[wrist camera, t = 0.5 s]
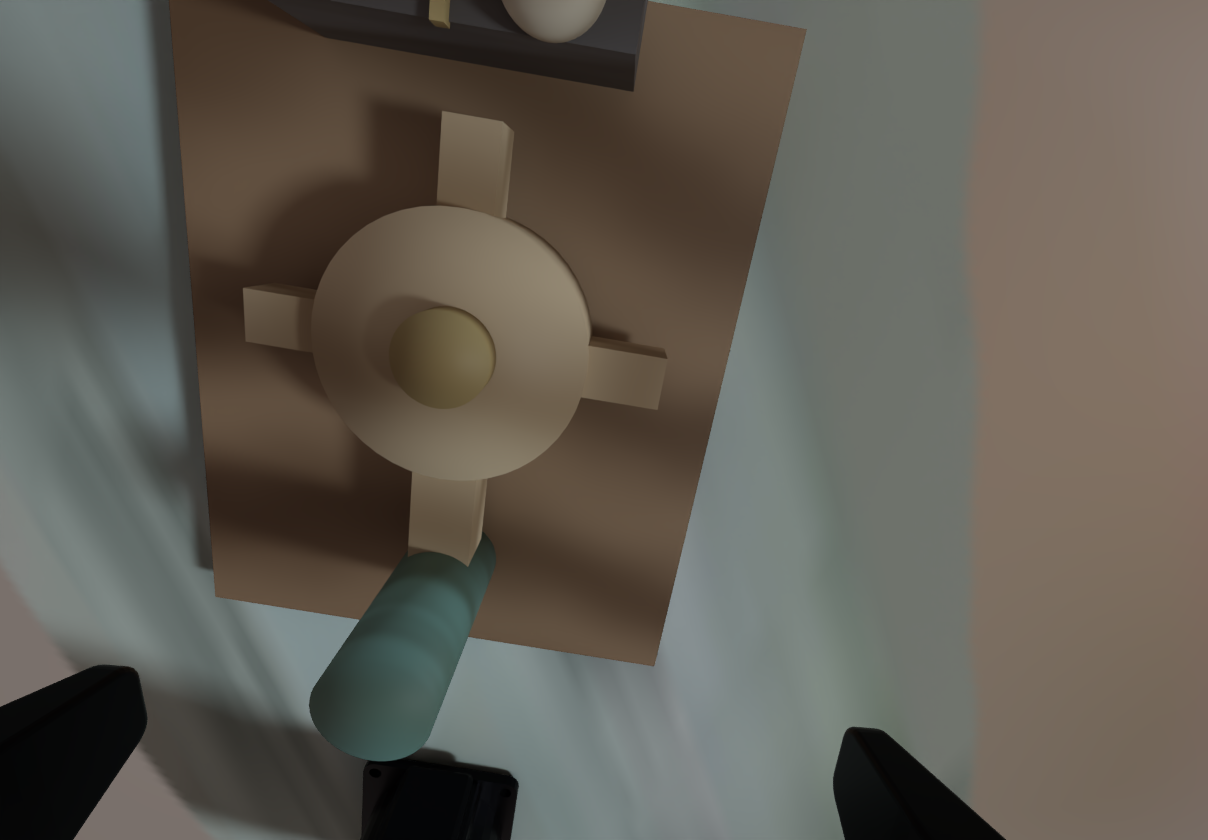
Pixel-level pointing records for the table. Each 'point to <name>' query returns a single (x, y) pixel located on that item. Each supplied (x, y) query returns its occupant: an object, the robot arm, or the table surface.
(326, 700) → the capstan
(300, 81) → the stand
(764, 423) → the table surface
